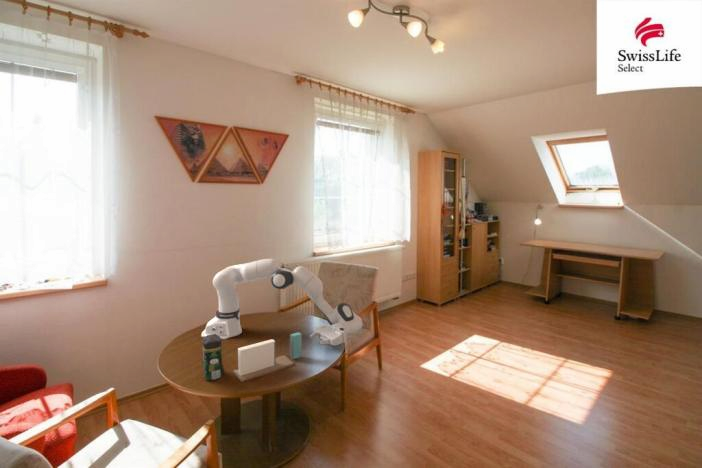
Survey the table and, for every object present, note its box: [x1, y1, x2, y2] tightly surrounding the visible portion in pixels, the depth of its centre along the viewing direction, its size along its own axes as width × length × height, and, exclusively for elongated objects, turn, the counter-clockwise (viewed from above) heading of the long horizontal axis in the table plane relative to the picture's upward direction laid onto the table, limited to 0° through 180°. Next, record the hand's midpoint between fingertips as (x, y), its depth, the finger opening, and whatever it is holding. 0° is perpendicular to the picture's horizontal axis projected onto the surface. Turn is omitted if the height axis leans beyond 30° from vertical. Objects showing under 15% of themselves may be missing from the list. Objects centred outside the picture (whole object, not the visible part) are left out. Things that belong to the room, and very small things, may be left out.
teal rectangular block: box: [289, 331, 303, 360], centre depth 174 cm, size 5×3×12 cm, turn 128°
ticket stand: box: [233, 338, 295, 383], centre depth 164 cm, size 26×10×13 cm, turn 128°
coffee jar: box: [202, 334, 223, 381], centre depth 156 cm, size 10×8×19 cm
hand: (315, 340), depth 181 cm, fingers open, 8 cm apart
